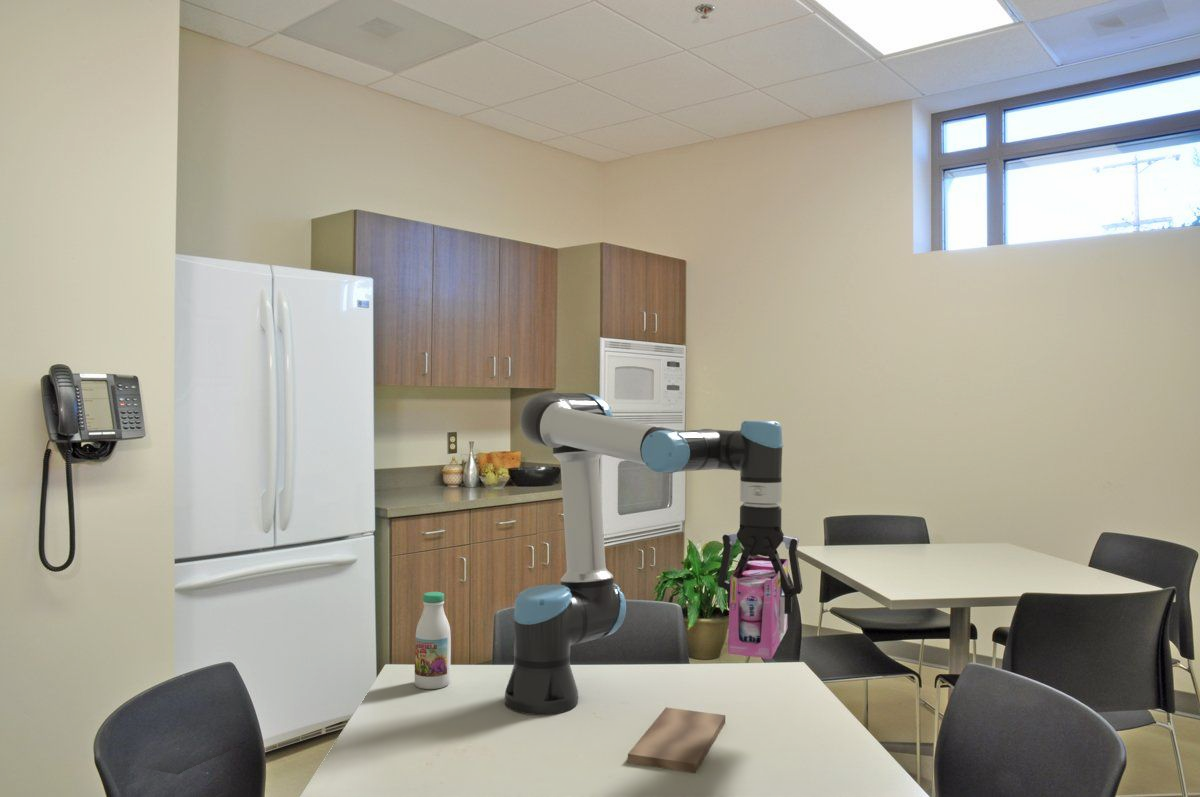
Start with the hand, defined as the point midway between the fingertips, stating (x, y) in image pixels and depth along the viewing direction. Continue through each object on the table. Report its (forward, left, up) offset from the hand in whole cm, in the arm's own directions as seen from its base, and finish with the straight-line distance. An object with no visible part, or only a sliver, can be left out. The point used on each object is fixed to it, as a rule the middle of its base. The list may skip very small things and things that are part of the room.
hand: (759, 628), depth 158 cm
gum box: (0, 0, -3) cm, 3 cm away
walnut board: (-14, -4, -21) cm, 25 cm away
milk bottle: (-73, +8, -21) cm, 76 cm away
